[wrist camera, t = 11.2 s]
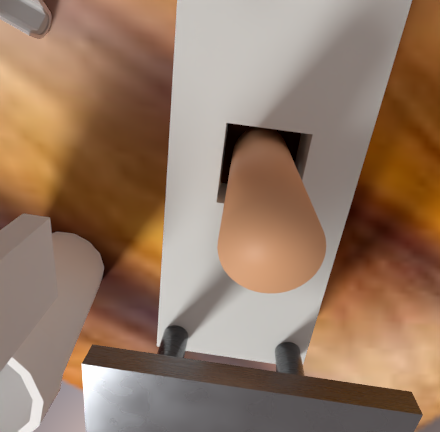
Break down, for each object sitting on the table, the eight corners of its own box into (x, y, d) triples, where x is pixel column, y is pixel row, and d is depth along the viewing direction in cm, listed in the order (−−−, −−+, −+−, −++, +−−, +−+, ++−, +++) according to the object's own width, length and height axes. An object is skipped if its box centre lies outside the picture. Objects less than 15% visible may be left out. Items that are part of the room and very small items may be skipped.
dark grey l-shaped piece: (156, 226, 24) (81, 364, 13) (344, 252, 24) (422, 414, 13) (150, 345, 29) (91, 520, 18) (308, 368, 29) (344, 560, 18)
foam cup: (120, 222, 29) (32, 336, 17) (123, 311, 33) (52, 454, 21) (8, 209, 29) (-155, 313, 17) (24, 299, 33) (-101, 433, 21)
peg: (236, 123, 25) (224, 191, 12) (292, 130, 25) (338, 207, 12) (229, 176, 27) (211, 285, 14) (281, 183, 27) (312, 300, 14)
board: (190, -17, 22) (179, -32, 18) (385, 8, 21) (412, -2, 18) (167, 313, 33) (156, 346, 29) (295, 332, 32) (302, 367, 29)
